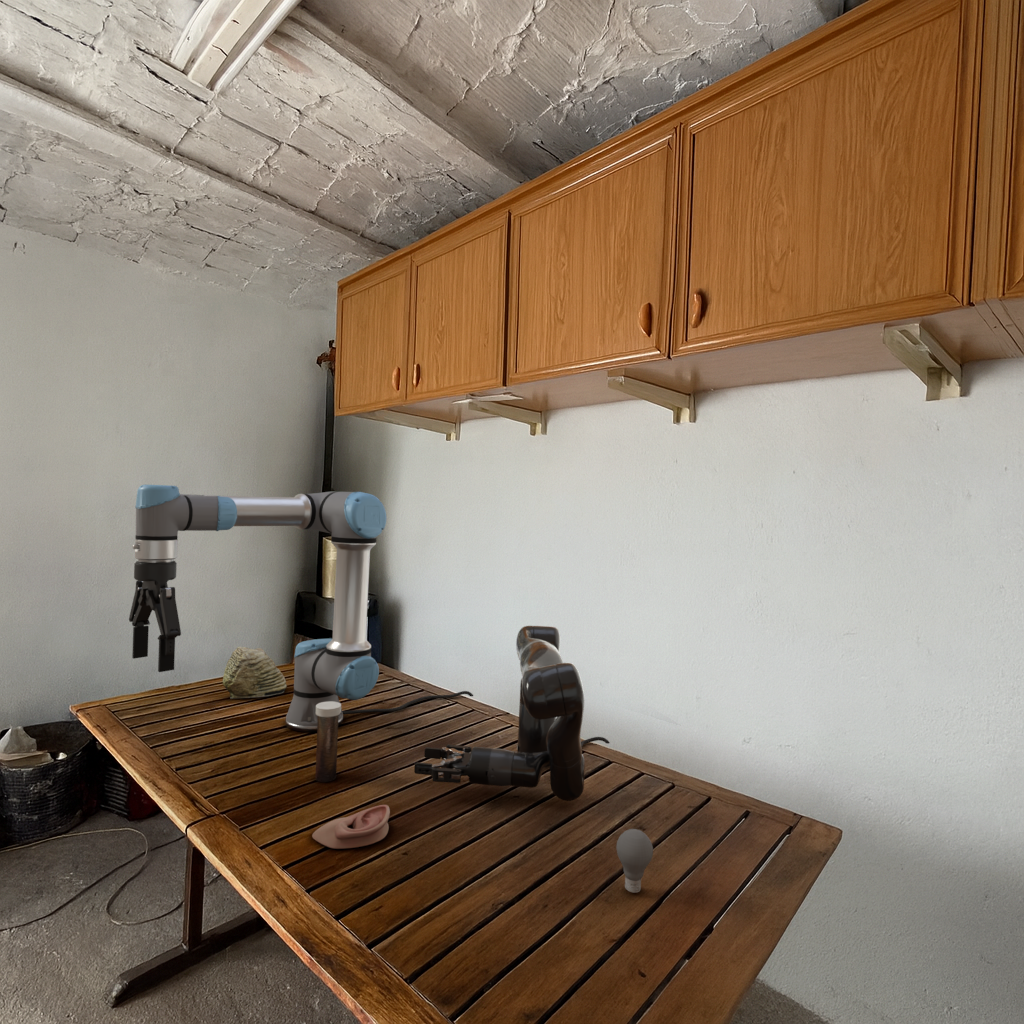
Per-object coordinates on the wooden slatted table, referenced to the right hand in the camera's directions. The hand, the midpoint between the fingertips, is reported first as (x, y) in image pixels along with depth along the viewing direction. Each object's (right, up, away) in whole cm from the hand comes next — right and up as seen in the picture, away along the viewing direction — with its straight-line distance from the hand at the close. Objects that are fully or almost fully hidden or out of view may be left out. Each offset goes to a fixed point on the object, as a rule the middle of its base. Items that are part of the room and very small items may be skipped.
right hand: (419, 759), depth 140 cm
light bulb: (+40, -9, -34) cm, 54 cm away
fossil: (-60, -2, +58) cm, 84 cm away
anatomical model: (-10, -6, -20) cm, 23 cm away
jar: (-22, -5, +3) cm, 22 cm away
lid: (-21, +11, +2) cm, 24 cm away
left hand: (-53, +24, -10) cm, 59 cm away
